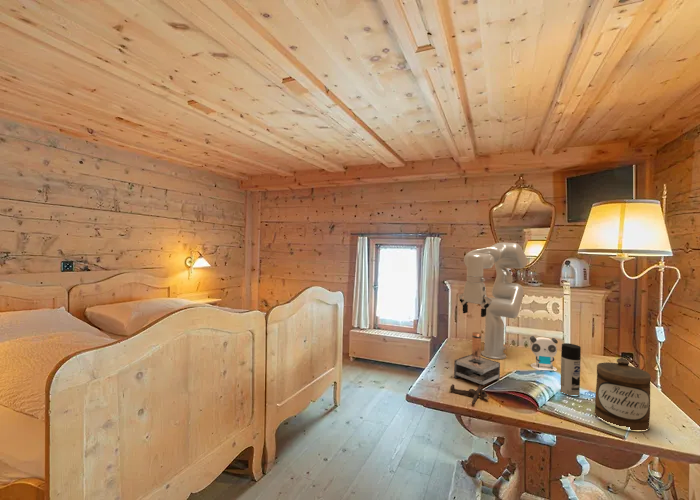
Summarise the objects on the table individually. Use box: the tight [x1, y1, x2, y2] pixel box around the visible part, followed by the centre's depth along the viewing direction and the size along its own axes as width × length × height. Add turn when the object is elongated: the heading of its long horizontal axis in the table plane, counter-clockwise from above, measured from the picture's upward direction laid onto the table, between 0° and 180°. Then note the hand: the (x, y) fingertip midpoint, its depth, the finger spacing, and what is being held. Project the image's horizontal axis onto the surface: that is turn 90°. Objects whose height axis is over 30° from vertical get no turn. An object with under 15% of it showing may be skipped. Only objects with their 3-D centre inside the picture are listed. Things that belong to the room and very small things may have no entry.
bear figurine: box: [449, 383, 490, 405], centre depth 135 cm, size 18×4×14 cm
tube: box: [471, 331, 482, 357], centre depth 166 cm, size 4×4×17 cm
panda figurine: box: [529, 335, 559, 372], centre depth 168 cm, size 12×11×15 cm
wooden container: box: [594, 357, 652, 430], centre depth 118 cm, size 15×15×22 cm
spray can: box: [560, 342, 582, 396], centre depth 139 cm, size 7×7×20 cm
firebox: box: [453, 353, 501, 386], centre depth 151 cm, size 14×14×8 cm
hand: (474, 314), depth 164 cm, fingers open, 9 cm apart
